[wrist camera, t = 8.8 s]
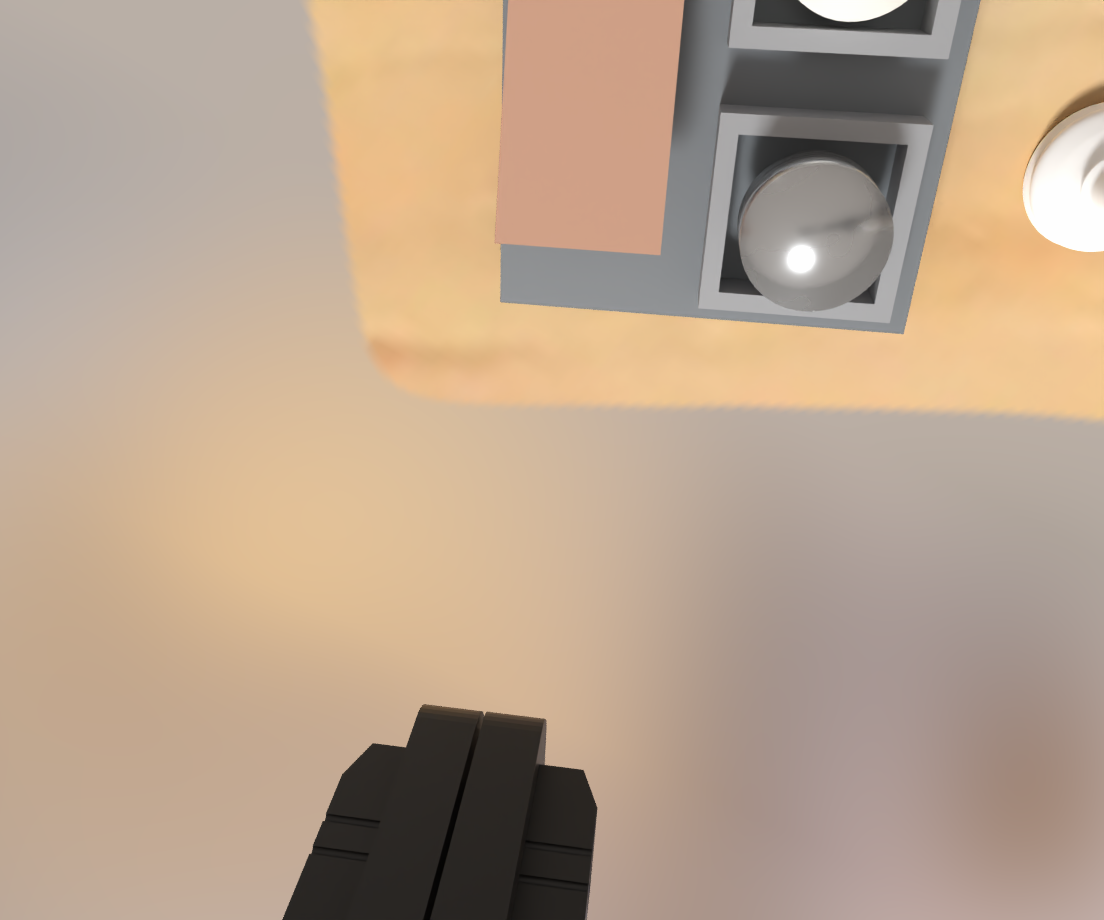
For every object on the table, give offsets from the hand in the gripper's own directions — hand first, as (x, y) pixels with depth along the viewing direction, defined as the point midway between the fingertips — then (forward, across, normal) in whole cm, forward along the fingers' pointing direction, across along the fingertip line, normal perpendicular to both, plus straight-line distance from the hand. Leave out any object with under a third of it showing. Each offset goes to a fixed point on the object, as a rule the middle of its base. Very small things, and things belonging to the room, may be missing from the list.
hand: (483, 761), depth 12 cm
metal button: (+22, -6, -1) cm, 23 cm away
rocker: (+22, +1, -5) cm, 22 cm away
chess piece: (+27, -16, -2) cm, 32 cm away
